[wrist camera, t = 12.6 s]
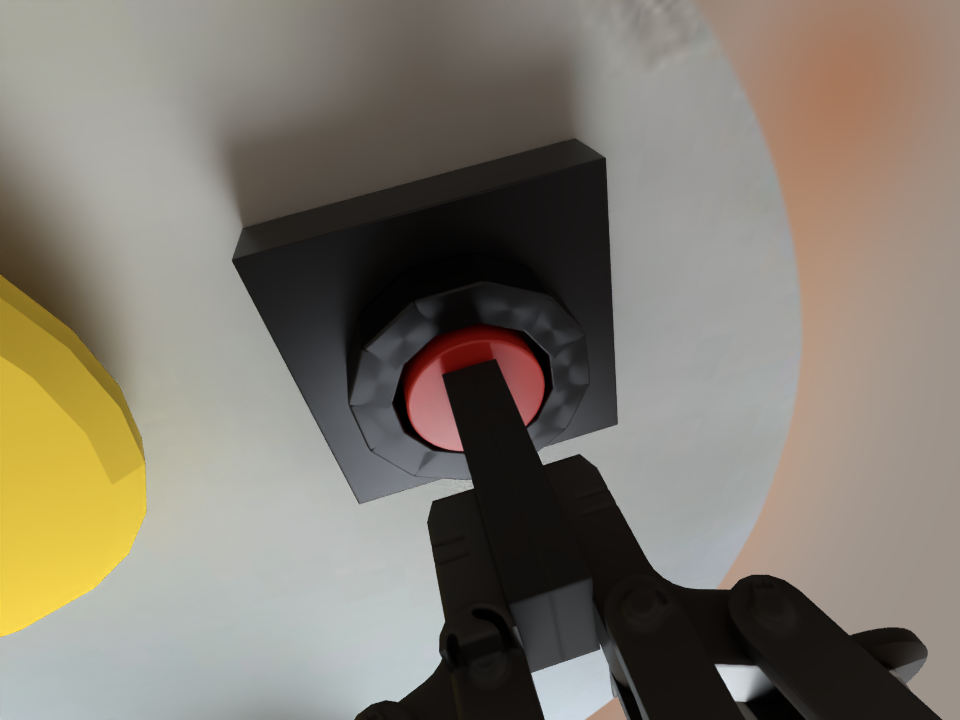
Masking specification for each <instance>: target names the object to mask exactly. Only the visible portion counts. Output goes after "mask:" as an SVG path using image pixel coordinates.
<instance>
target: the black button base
mask: <svg viewBox="0 0 960 720" xmlns="http://www.w3.org/2000/svg"><path fill="white" fill-rule="evenodd" d="M232 262H233V264H234V266H235V268H236V270H237V272H238V274H239V275H240V277H241V279H242V281H243V283H244V285H245V287H246V289H247V291H248V293H249V295H250V296H251V298H252V300H253V302H254V304H255V306H256V308H257V310H258V312H259V314H260V316H261V318H262V319H263V321H264V323H265V325H266V327H267V329H268V331H269V333H270V335H271V337H272V339H273V340H274V342H275V344H276V346H277V348H278V350H279V352H280V354H281V356H282V358H283V360H284V361H285V363H286V365H287V367H288V369H289V371H290V373H291V375H292V377H293V379H294V381H295V382H296V384H297V386H298V388H299V390H300V392H301V394H302V396H303V398H304V400H305V402H306V403H307V405H308V407H309V409H310V411H311V413H312V415H313V417H314V419H315V421H316V423H317V424H318V426H319V428H320V430H321V432H322V434H323V436H324V438H325V440H326V442H327V444H328V446H329V447H330V449H331V451H332V453H333V455H334V457H335V459H336V461H337V463H338V465H339V467H340V468H341V470H342V472H343V474H344V476H345V478H346V480H347V482H348V484H349V486H350V488H351V489H352V491H353V493H354V495H355V497H356V499H357V501H358V503H359V504H362V503H365V502H368V501H372V500H375V499H378V498H381V497H384V496H388V495H391V494H394V493H397V492H401V491H404V490H407V489H410V488H414V487H417V486H420V485H423V484H426V483H430V482H433V481H436V480H439V479H443V478H444V479H459V480H468V479H469V480H471V479H472V478H471V475H470V471H469V468H468V464H467V461H466V458H465V454H464V451H454V450H448V449H444V448H441V447H438V446H435V445H433V444H432V443H430V442H428V441H427V440H425V439H424V438H423V437H421V436H420V435H419V434H418V433H417V432H416V430H415V429H414V427H413V426H412V424H411V422H410V420H409V417H408V414H407V409H406V403H405V398H404V392H403V387H402V381H401V374H402V371H403V368H404V365H405V364H406V363H407V362H408V361H409V360H410V359H411V358H412V357H414V356H415V355H416V354H417V353H418V352H419V351H420V350H421V349H422V348H424V347H425V346H426V345H427V344H428V343H429V342H430V341H431V340H432V339H434V338H435V337H436V336H438V335H442V334H445V333H449V332H452V331H456V330H459V329H463V328H466V327H469V326H473V325H476V324H480V323H481V324H487V325H492V326H498V327H503V328H509V329H515V330H520V331H521V332H522V334H523V335H524V337H525V339H526V341H527V343H528V344H529V346H530V348H531V350H532V352H533V354H534V355H535V357H536V359H537V361H538V363H539V365H540V367H541V369H542V371H543V375H544V383H545V387H544V395H543V399H542V402H541V405H540V407H539V409H538V411H537V413H536V414H535V416H534V417H533V418H532V420H531V421H530V422H529V423H528V424H527V425H526V428H527V430H528V433H529V435H530V437H531V440H532V442H533V444H534V446H535V449H536V451H537V452H538V451H539V450H540V449H542V448H543V447H546V446H549V445H552V444H556V443H559V442H562V441H565V440H568V439H572V438H575V437H578V436H581V435H585V434H588V433H591V432H594V431H598V430H601V429H604V428H607V427H610V426H614V425H617V424H618V418H617V396H616V374H615V352H614V329H613V307H612V285H611V263H610V240H609V218H608V196H607V174H606V158H605V157H603V156H602V155H600V154H599V153H597V152H596V151H594V150H593V149H591V148H590V147H588V146H587V145H585V144H584V143H582V142H580V141H579V140H577V139H571V140H568V141H564V142H560V143H556V144H553V145H549V146H545V147H542V148H538V149H534V150H530V151H527V152H523V153H519V154H516V155H512V156H508V157H505V158H501V159H497V160H493V161H490V162H486V163H482V164H479V165H475V166H471V167H467V168H464V169H460V170H456V171H453V172H449V173H445V174H441V175H438V176H434V177H430V178H427V179H423V180H419V181H415V182H412V183H408V184H404V185H401V186H397V187H393V188H390V189H386V190H382V191H378V192H375V193H371V194H367V195H364V196H360V197H356V198H352V199H349V200H345V201H341V202H338V203H334V204H330V205H326V206H323V207H319V208H315V209H312V210H308V211H304V212H301V213H297V214H293V215H289V216H286V217H282V218H278V219H275V220H271V221H267V222H263V223H260V224H256V225H252V226H249V227H245V228H243V229H242V232H241V234H240V237H239V240H238V243H237V246H236V249H235V252H234V255H233V258H232Z"/></svg>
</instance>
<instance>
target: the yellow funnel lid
mask: <svg viewBox="0 0 960 720" xmlns="http://www.w3.org/2000/svg"><path fill="white" fill-rule="evenodd" d="M146 512H147V510H146V472H145V458H144V451H143V444H142V437H141V435H140V433H139V430H138V428H137V426H136V423H135V421H134V419H133V417H132V414H131V412H130V410H129V407H128V405H127V403H126V400H125V398H124V396H123V393H122V391H121V389H120V386H119V385H118V384H117V383H116V381H115V380H114V379H113V378H112V377H111V376H110V374H109V373H108V372H107V371H106V370H105V368H104V367H103V366H102V365H101V364H100V362H99V361H98V360H97V359H96V358H95V356H94V355H93V354H92V353H91V352H90V350H89V349H88V348H87V347H86V346H85V345H84V343H83V342H82V341H81V340H80V339H79V337H78V336H77V335H76V334H75V333H74V331H73V330H72V329H70V328H69V327H68V326H66V325H65V324H64V323H63V322H61V321H60V320H59V319H57V318H56V317H55V316H53V315H52V314H51V313H50V312H48V311H47V310H46V309H44V308H43V307H42V306H40V305H39V304H38V303H37V302H35V301H34V300H33V299H31V298H30V297H29V296H27V295H26V294H25V293H23V292H22V291H21V290H20V289H18V288H17V287H16V286H14V285H13V284H12V283H10V282H9V281H8V280H7V279H5V278H4V277H3V276H1V275H0V637H2V636H5V635H8V634H11V633H14V632H17V631H20V630H22V629H23V628H25V627H27V626H29V625H31V624H32V623H34V622H36V621H38V620H39V619H41V618H43V617H45V616H46V615H48V614H50V613H52V612H53V611H55V610H57V609H59V608H60V607H62V606H64V605H66V604H68V603H69V602H71V601H73V600H75V599H76V598H78V597H80V596H82V595H83V594H85V593H87V592H89V591H90V590H92V589H94V588H95V587H96V586H97V585H98V584H99V583H100V582H101V581H102V580H103V579H104V578H105V577H106V576H107V575H108V574H109V573H110V572H111V571H112V570H113V569H114V568H115V567H116V566H117V565H118V564H119V563H120V562H121V561H122V560H123V559H124V558H125V557H126V556H127V555H128V554H129V552H130V549H131V547H132V545H133V542H134V540H135V538H136V535H137V533H138V531H139V528H140V526H141V524H142V522H143V519H144V517H145V515H146Z"/></svg>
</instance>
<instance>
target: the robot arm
mask: <svg viewBox="0 0 960 720" xmlns="http://www.w3.org/2000/svg"><path fill="white" fill-rule="evenodd" d="M442 377H443V381H444V384H445V388H446V391H447V395H448V398H449V402H450V405H451V409H452V412H453V416H454V419H455V423H456V426H457V430H458V433H459V437H460V440H461V444H462V447H463V451H464V454H465V458H466V461H467V464H468V468H469V471H470V475H471V478H472V482H473V485H474V488H473V489H470V490H467V491H464V492H461V493H457V494H454V495H451V496H448V497H445V498H441V499H438V500H435V501H433V502H432V506H431V510H430V513H429V517H428V521H427V524H428V530H429V535H430V541H431V545H432V552H433V557H434V562H435V568H436V574H437V579H438V584H439V590H440V595H441V601H442V606H443V612H444V617H445V624H444V626H443V629H442V631H441V634H440V638H439V653H440V655H441V657H442V660H441V663H440V664H439V666H438V667H437V669H436V670H435V672H434V673H433V674H432V675H431V676H430V677H429V678H428V679H427V680H426V681H425V682H424V683H423V684H421V685H420V686H419V687H417V688H416V689H415V690H414V691H412V692H411V693H410V694H408V695H407V696H406V697H405V698H403V699H402V700H401V701H399V702H393V701H387V700H385V701H382V702H378V703H375V704H371V705H370V706H369V707H367V708H366V709H365V710H363V711H362V712H361V713H359V714H358V715H357V716H356V718H355V719H354V720H545V719H544V715H543V712H542V709H541V705H540V702H539V699H538V695H537V692H536V688H535V685H534V682H533V678H532V675H531V673H532V672H535V671H538V670H541V669H544V668H547V667H550V666H553V665H556V664H559V663H562V662H565V661H567V660H570V659H573V658H576V657H579V656H582V655H585V654H588V653H591V652H594V651H597V650H600V645H601V647H602V650H603V652H604V654H605V657H606V659H607V662H608V664H609V671H610V682H611V688H612V693H613V698H615V697H618V698H619V701H620V703H621V706H622V708H623V711H624V713H625V716H626V718H627V720H745V718H746V719H747V720H942V719H941V718H940V717H939V716H938V715H937V714H935V713H934V712H933V711H932V710H931V709H930V708H929V707H928V706H927V705H925V704H924V703H923V702H922V701H921V700H920V699H919V698H918V697H917V696H916V695H914V694H913V693H912V692H911V691H910V689H909V688H908V686H907V685H906V683H905V682H904V680H903V678H902V677H901V676H900V675H899V674H898V672H897V671H896V670H895V669H894V667H893V666H892V665H890V664H886V663H879V662H878V661H877V660H876V659H875V658H874V657H873V656H871V655H870V654H869V653H868V652H867V651H866V650H865V649H864V648H863V647H861V646H860V645H859V644H858V643H857V642H856V641H855V640H854V639H853V638H852V637H850V636H849V635H848V634H847V633H846V632H845V631H844V630H843V629H842V628H841V627H839V626H838V625H837V624H836V623H835V622H834V621H833V620H831V618H829V617H828V616H827V615H826V614H825V613H824V612H823V611H822V610H821V609H820V608H818V607H817V606H816V605H815V604H814V603H813V602H812V601H811V600H810V599H809V598H807V597H806V596H805V595H804V594H803V593H802V592H801V591H799V590H798V589H797V588H795V587H794V586H792V585H791V584H789V583H788V582H786V581H785V580H782V579H779V578H776V577H773V576H770V575H751V576H748V577H745V578H743V579H740V580H739V581H738V582H737V583H736V584H735V586H734V587H733V588H732V589H731V590H716V589H691V588H685V587H682V586H679V585H676V584H673V583H671V582H670V581H668V580H666V579H665V578H663V577H662V576H661V575H660V574H658V573H657V572H656V571H655V570H654V569H653V567H652V566H651V565H650V563H649V562H648V560H647V558H646V557H645V555H644V553H643V551H642V549H641V547H640V546H639V544H638V542H637V540H636V538H635V536H634V535H633V533H632V531H631V529H630V527H629V525H628V524H627V522H626V520H625V518H624V516H623V515H622V513H621V511H620V509H619V507H618V505H616V502H615V500H614V498H613V496H612V494H611V493H610V491H609V490H608V488H607V485H606V483H605V482H604V480H603V478H602V476H601V474H600V472H599V471H598V469H597V467H595V466H594V465H593V464H592V463H590V462H589V461H588V460H586V459H585V458H584V457H583V456H581V455H580V454H578V455H575V456H572V457H568V458H565V459H562V460H559V461H556V462H552V463H549V464H546V465H542V462H541V460H540V458H539V455H538V453H537V451H536V449H535V446H534V444H533V442H532V440H531V437H530V435H529V433H528V430H527V428H526V426H525V424H524V421H523V419H522V417H521V415H520V412H519V410H518V408H517V405H516V403H515V401H514V399H513V396H512V394H511V392H510V390H509V387H508V385H507V383H506V380H505V378H504V376H503V374H502V371H501V369H500V367H499V365H498V362H497V360H496V359H492V360H489V361H486V362H482V363H479V364H475V365H472V366H469V367H465V368H462V369H459V370H455V371H452V372H448V373H445V374H442ZM599 642H600V643H599ZM742 714H743V715H742ZM744 717H745V718H744Z"/></svg>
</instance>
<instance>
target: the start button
mask: <svg viewBox="0 0 960 720" xmlns="http://www.w3.org/2000/svg"><path fill="white" fill-rule="evenodd" d="M492 359H496V360H497V362H498V365H499V367H500V369H501V371H502V374H503V376H504V378H505V380H506V383H507V385H508V387H509V390H510V392H511V394H512V396H513V399H514V401H515V403H516V405H517V408H518V410H519V412H520V415H521V417H522V419H523V421H524V424H525V426H526V425H527V424H528V423H529V422H530V421H531V420H532V418H533V417H534V416H535V414H536V413H537V411H538V409H539V407H540V405H541V402H542V399H543V395H544V387H545V383H544V375H543V371H542V369H541V367H540V365H539V363H538V361H537V359H536V357H535V355H534V354H533V352H532V350H531V348H530V346H529V344H528V343H527V341H526V339H525V337H524V335H523V334H522V332H521V331H520V330H515V329H509V328H503V327H498V326H492V325H487V324H481V323H480V324H476V325H473V326H469V327H466V328H463V329H459V330H456V331H452V332H449V333H445V334H442V335H438V336H436V337H435V338H434V339H432V340H431V341H430V342H429V343H428V344H427V345H426V346H425V347H424V348H422V349H421V350H420V351H419V352H418V353H417V354H416V355H415V356H414V357H412V358H411V359H410V360H409V361H408V362H407V363H406V364H405V365H404V368H403V371H402V374H401V381H402V387H403V392H404V398H405V403H406V409H407V414H408V417H409V420H410V422H411V424H412V426H413V427H414V429H415V430H416V432H417V433H418V434H419V435H420V436H421V437H423V438H424V439H425V440H427V441H428V442H430V443H432V444H433V445H435V446H438V447H441V448H444V449H448V450H454V451H463V447H462V444H461V440H460V437H459V433H458V430H457V426H456V423H455V419H454V416H453V412H452V409H451V405H450V402H449V398H448V395H447V391H446V388H445V384H444V381H443V377H442V374H445V373H448V372H452V371H455V370H459V369H462V368H465V367H469V366H472V365H475V364H479V363H482V362H486V361H489V360H492Z"/></svg>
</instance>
